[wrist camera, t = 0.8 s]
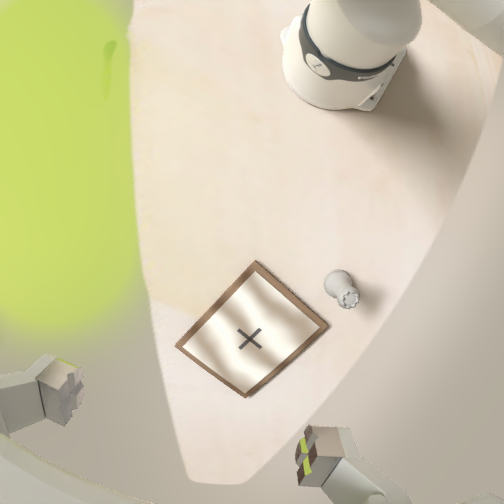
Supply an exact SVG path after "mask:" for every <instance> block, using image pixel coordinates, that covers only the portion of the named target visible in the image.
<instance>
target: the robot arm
mask: <svg viewBox="0 0 504 504" xmlns="http://www.w3.org/2000/svg"><path fill="white" fill-rule="evenodd" d="M428 1H429V2H431V3H432V4H433V5H435V6H436V7H437V8H438V9H440V10H441V11H442V12H443V13H445V14H446V15H447V16H448V17H449V18H451V19H452V20H453V21H454V22H455V23H456V24H458V25H459V26H460V27H461V28H462V29H463V30H465V31H466V32H468V33H469V34H471V35H472V36H474V37H475V38H476V39H478V40H479V41H480V42H482V43H483V44H485V45H486V46H487V47H489V48H490V49H491V50H493V51H494V52H496V53H497V54H498V55H500V56H501V57H502V58H503V59H504V0H428ZM421 24H422V11H421V5H420V1H419V0H311V3H310V4H309V5H308V6H307V8H306V9H305V11H304V13H303V14H302V16H300V17H295V18H294V20H293V22H292V25H290V26H289V27H287V28H285V29H283V30H282V32H281V34H280V39H281V42H282V45H283V48H284V53H283V59H282V68H283V73H284V76H285V79H286V81H287V83H288V84H289V86H290V87H291V89H292V90H293V91H294V92H295V93H296V94H297V95H298V96H299V97H300V98H302V99H303V100H305V101H306V102H308V103H310V104H312V105H314V106H316V107H319V108H323V109H329V110H341V109H348V108H355V109H358V110H362V111H372V110H373V109H374V108H375V107H376V105H377V103H378V101H379V100H380V98H381V96H382V94H383V93H384V91H385V89H386V88H387V86H388V84H389V82H390V81H391V79H392V77H393V75H394V73H395V72H396V70H397V68H398V66H399V65H400V63H401V61H402V59H403V57H404V56H405V54H406V49H405V47H406V46H407V45H408V44H409V43H410V42H412V41H413V40H414V39H415V38H416V36H417V35H418V33H419V31H420V28H421ZM370 97H372V98H373V100H371V99H370ZM82 377H83V371H82V369H81V368H80V367H78V366H76V365H74V364H71V363H69V362H67V361H65V360H63V359H60V358H58V357H55V356H54V355H51V354H50V353H46V354H44V355H43V356H42V357H40V358H39V359H38V360H37V361H36V362H35V363H34V364H33V365H32V366H31V367H29V369H27V370H26V371H25V372H24V373H22V372H16V373H10V374H5V375H0V504H154V503H151V502H148V501H144V500H141V499H138V498H135V497H132V496H129V495H126V494H123V493H120V492H118V491H115V490H112V489H109V488H107V487H104V486H102V485H99V484H97V483H94V482H92V481H90V480H87V479H85V478H83V477H80V476H78V475H76V474H74V473H72V472H70V471H67V470H65V469H63V468H61V467H59V466H57V465H55V464H53V463H51V462H49V461H48V460H46V459H44V458H42V457H40V456H38V455H37V454H35V453H33V452H32V451H30V450H28V449H26V448H25V447H23V446H21V445H20V444H18V443H17V442H15V441H13V440H12V439H11V438H10V436H9V434H10V433H12V432H15V431H17V430H19V429H22V428H24V427H27V426H29V425H32V424H34V423H36V422H39V421H41V420H43V419H45V418H47V419H49V420H52V421H54V422H56V423H58V424H60V425H62V426H65V425H66V424H67V423H68V421H69V420H70V418H71V417H72V410H74V409H77V408H78V407H79V405H80V404H81V402H82V399H83V396H84V386H83V384H82V382H81V381H80V380H81V379H82ZM304 435H305V437H304V438H302V439H301V440H300V441H299V443H298V445H297V448H296V453H295V461H296V464H297V465H298V466H299V467H300V468H299V469H298V471H297V477H298V485H299V486H309V487H321V489H322V490H323V491H324V493H325V494H326V495H327V496H328V497H329V499H330V500H331V501H332V502H333V503H334V504H412V503H411V501H410V499H409V496H408V494H407V491H406V490H405V489H403V488H402V487H401V486H399V485H398V484H397V483H395V482H394V481H393V480H391V479H390V478H389V477H387V476H386V475H385V474H384V473H382V472H381V471H380V470H378V469H377V468H376V467H375V466H373V465H372V464H371V463H370V462H368V461H367V460H366V459H364V458H360V456H359V453H358V451H357V448H356V445H355V442H354V439H353V436H352V433H351V431H350V429H349V428H348V427H333V426H319V425H308V426H307V427H306V429H305V431H304ZM455 504H504V499H502V498H500V497H498V496H496V495H494V494H491V493H487V494H484V495H480V496H477V497H475V498H471V499H468V500H465V501H462V502H459V503H455Z"/></svg>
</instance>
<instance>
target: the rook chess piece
mask: <svg viewBox="0 0 504 504" xmlns="http://www.w3.org/2000/svg"><path fill="white" fill-rule="evenodd" d="M324 289H325V290H326V292H327V293H328V294H329V295H330V296H332V297H333V298H337V299H338V303H339V305H340V306H341V307H343V308H346V309H350V308H352V307H353V308H354V307H355V306H356V304H357V303H359V298H360V294H359V291H358V290H357V289H356V288H354V287H352V280H351V278H350V276H349V275H348V273H346V272H345V271H344V270H334V271H332V272H330V273H329V274H328V275H327V276H326V278H325V281H324Z"/></svg>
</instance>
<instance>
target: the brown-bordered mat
mask: <svg viewBox="0 0 504 504" xmlns="http://www.w3.org/2000/svg"><path fill="white" fill-rule="evenodd" d="M327 327H328V325H327V323H326V322H325V321H323V320H322V319H321V318H320V317H319V316H318V315H317V314H315V313H314V312H313V311H312V310H311V309H310V308H309V307H308V306H306V305H305V304H304V303H303V302H302V301H301V300H300V299H298V298H297V297H296V296H295V295H294V294H293V293H292V292H291V291H289V290H288V289H287V288H286V287H285V286H284V285H283V284H282V283H280V282H279V281H278V280H277V279H276V278H275V277H274V276H272V275H271V274H270V273H269V272H268V271H267V270H266V269H265V268H263V267H262V266H261V265H260V264H259V263H258V262H257V261H256V260H255V261H254V262H253V263H252V264H251V265H250V266H249V267H248V268H247V269H246V270H245V271H244V272H243V273H242V274H241V275H240V277H239V278H238V279H237V280H236V281H235V282H234V283H233V284H232V285H231V286H230V287H229V288H228V289H227V290H226V291H225V292H224V294H223V295H222V296H221V297H220V298H219V299H218V300H217V301H216V302H215V303H214V304H213V305H212V306H211V307H210V308H209V309H208V310H207V311H206V313H205V314H204V315H203V316H202V317H201V318H200V319H199V320H198V321H197V322H196V323H195V324H194V325H193V326H192V327H191V328H190V329H189V330H188V331H187V333H186V334H185V335H184V336H183V337H182V338H181V339H180V340H179V341H178V342H177V343H176V345H175V347H176V348H177V349H179V350H180V351H181V352H183V353H184V354H185V355H186V356H188V357H189V358H190V359H192V360H193V361H194V362H195V363H197V364H198V365H199V366H201V367H202V368H203V369H205V370H206V371H207V372H209V373H210V374H211V375H213V376H214V377H216V378H217V379H218V380H220V381H221V382H223V383H224V384H225V385H227V386H228V387H230V388H231V389H232V390H234V391H235V392H237V393H238V394H240V395H241V396H243V397H244V398H247V397H248V396H249V395H251V394H252V393H253V392H254V391H256V390H257V389H258V388H259V387H260V386H262V385H263V384H264V383H265V382H266V381H268V380H269V379H270V378H271V377H272V376H273V375H275V374H276V373H277V372H278V371H279V370H280V369H282V368H283V367H284V366H285V365H286V364H287V363H288V362H290V361H291V360H292V359H293V358H294V357H295V356H296V355H297V354H299V353H300V352H301V351H302V350H303V349H304V348H305V347H306V346H307V345H308V344H310V343H311V342H312V341H313V340H314V339H315V338H316V337H317V336H318V335H319V334H320V333H321V332H322V331H323V330H325V329H326V328H327Z"/></svg>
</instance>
